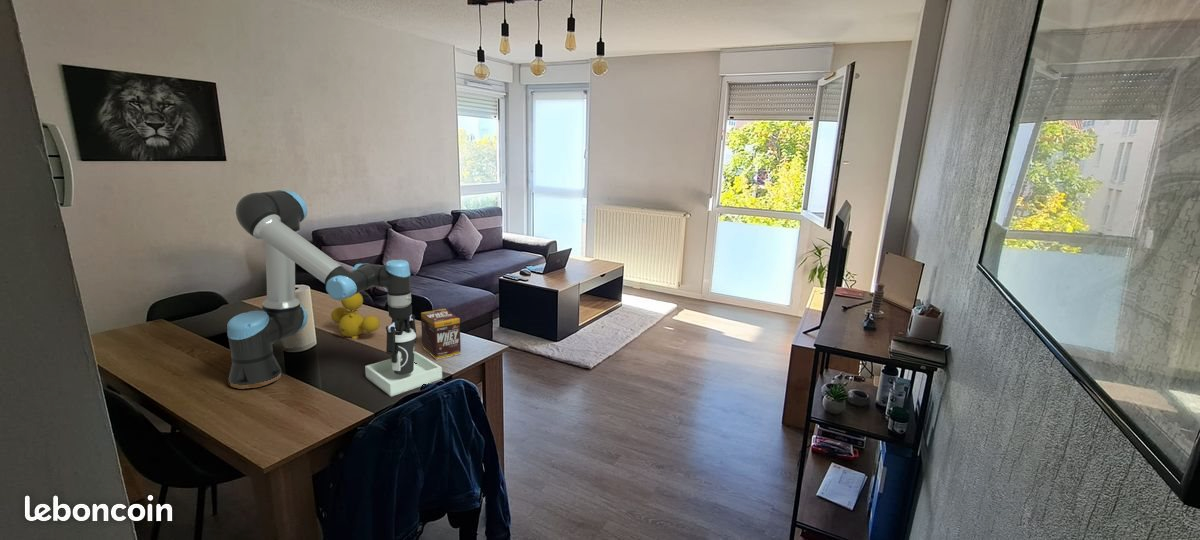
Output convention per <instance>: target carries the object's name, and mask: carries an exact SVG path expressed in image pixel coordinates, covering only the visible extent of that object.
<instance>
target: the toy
mask: <svg viewBox="0 0 1200 540" xmlns="http://www.w3.org/2000/svg"><path fill="white" fill-rule="evenodd" d="M363 303H364V298H363V295H362V294H361V293H360V292H359V293H357V294H355V295H353V296H352V297H349V298H346V299H342V300H341V305H342V306H341V307H340V306H339V307H336V308H334V309H333V310H332V311H331V314H330V316H331V320H332V321H334V322H335V323H337V324H338V328H339V331H340V332H341V334H342V337H344V336H346V337H349V338H352V339H351V340H356V339H355V338H357V339H358V337H359V336H360V334H361V335H363V334H364V333H363V332H364V331H365V332H367V333H373V332H377V330H379V328H380V327H381V326H380V325H381V322H380V320H379V318H378V317H377V316H374V315H368V316H366V317H365V318H364V317H363V316H362V315H361V314H360V313H357V312H359V308H361V307H362V305H363ZM362 333H363V334H362Z"/></svg>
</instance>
